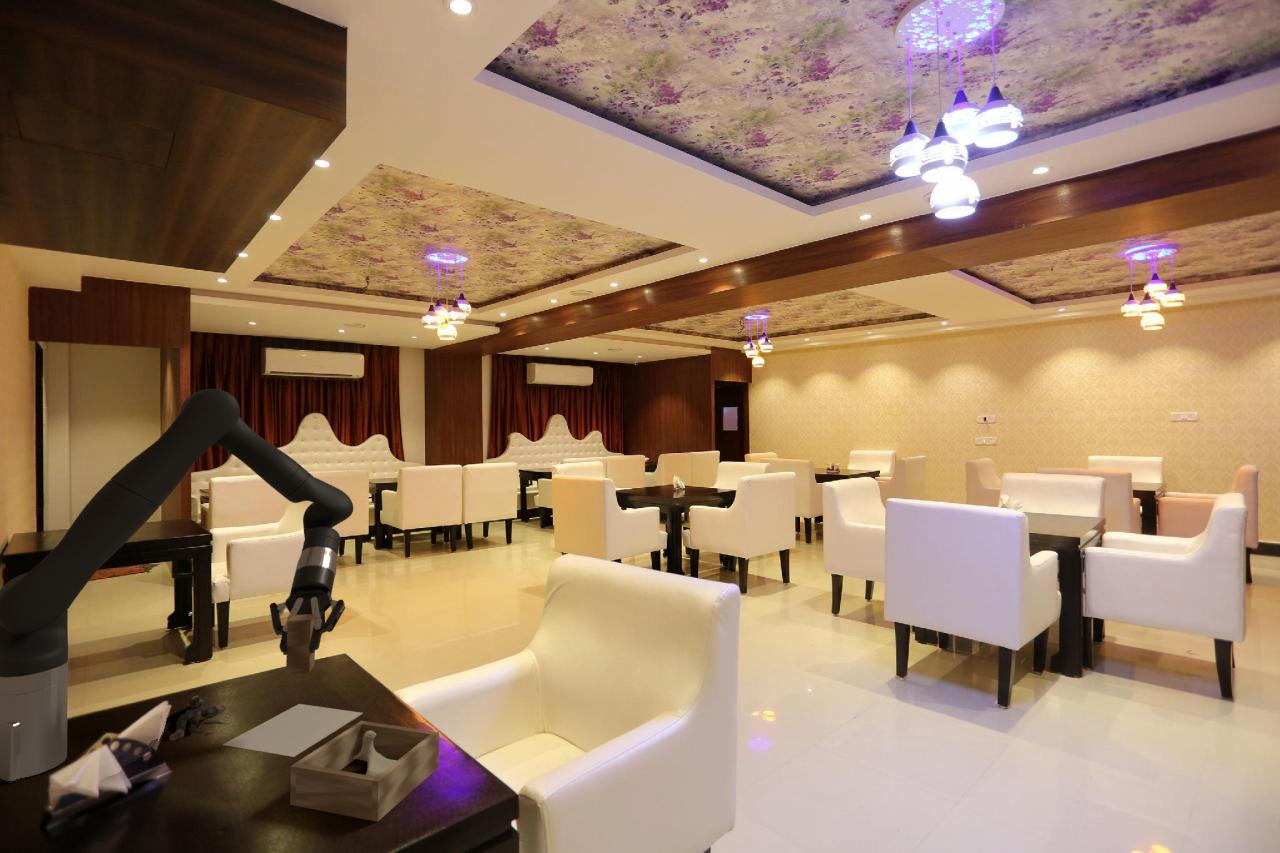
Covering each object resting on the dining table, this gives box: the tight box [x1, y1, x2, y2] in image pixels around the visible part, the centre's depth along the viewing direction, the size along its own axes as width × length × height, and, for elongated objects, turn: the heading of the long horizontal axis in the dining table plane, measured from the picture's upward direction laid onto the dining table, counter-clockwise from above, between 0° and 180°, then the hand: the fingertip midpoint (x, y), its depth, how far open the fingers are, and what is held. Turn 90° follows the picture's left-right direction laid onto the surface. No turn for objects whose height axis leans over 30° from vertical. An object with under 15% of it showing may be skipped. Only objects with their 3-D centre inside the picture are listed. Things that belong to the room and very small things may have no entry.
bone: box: [354, 731, 397, 777], centre depth 106 cm, size 10×6×10 cm
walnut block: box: [285, 614, 316, 675], centre depth 121 cm, size 4×4×10 cm
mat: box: [222, 703, 364, 758], centre depth 122 cm, size 18×16×1 cm
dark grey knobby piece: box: [162, 694, 233, 742], centre depth 124 cm, size 12×10×12 cm
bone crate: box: [289, 720, 440, 822], centre depth 104 cm, size 16×16×6 cm
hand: (298, 651), depth 119 cm, fingers closed on walnut block, 4 cm apart
